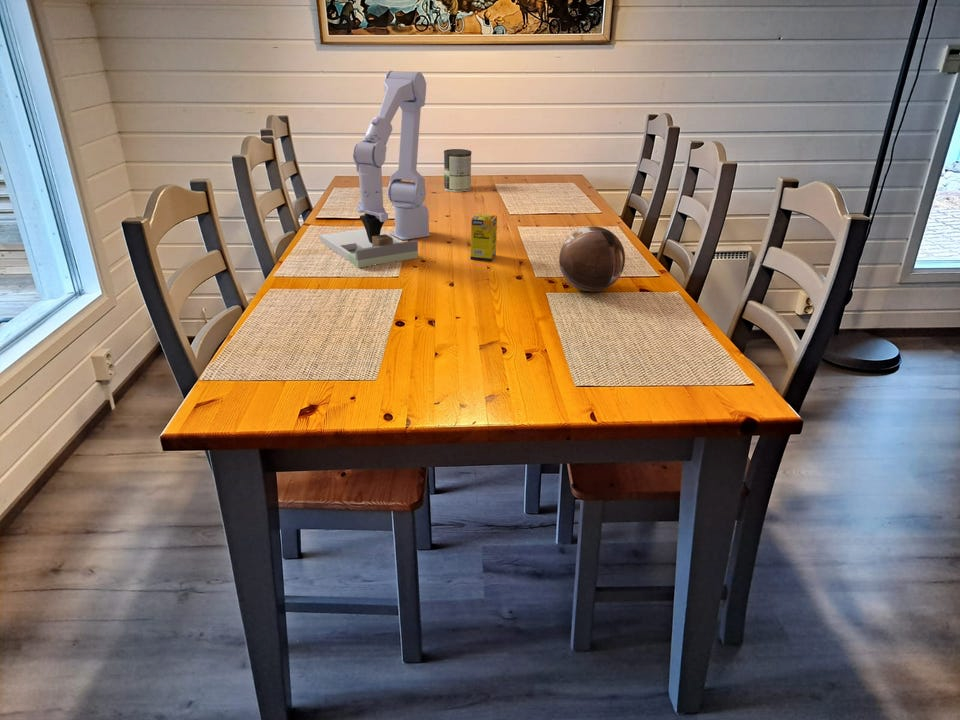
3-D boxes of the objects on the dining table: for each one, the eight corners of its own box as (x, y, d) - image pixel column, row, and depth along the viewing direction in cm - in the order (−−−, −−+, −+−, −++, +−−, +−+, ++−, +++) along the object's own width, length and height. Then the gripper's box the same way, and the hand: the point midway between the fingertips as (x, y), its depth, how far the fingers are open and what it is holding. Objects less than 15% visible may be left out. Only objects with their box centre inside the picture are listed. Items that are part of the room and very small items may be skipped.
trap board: (375, 234, 193) (374, 218, 191) (417, 257, 173) (417, 241, 171) (320, 242, 184) (318, 226, 182) (358, 268, 165) (357, 250, 163)
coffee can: (438, 189, 249) (438, 151, 242) (455, 185, 256) (455, 148, 250) (459, 193, 244) (460, 154, 237) (476, 189, 251) (477, 151, 245)
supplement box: (492, 261, 172) (493, 220, 167) (470, 259, 173) (470, 218, 168) (496, 255, 177) (497, 215, 173) (474, 253, 178) (475, 213, 174)
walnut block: (386, 249, 173) (385, 234, 171) (393, 253, 170) (392, 238, 168) (372, 251, 171) (371, 236, 169) (379, 255, 168) (378, 240, 166)
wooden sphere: (545, 283, 158) (550, 222, 152) (598, 276, 164) (605, 216, 157) (577, 305, 146) (584, 239, 139) (633, 296, 152) (642, 233, 145)
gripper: (345, 186, 172) (348, 237, 178) (369, 198, 161) (371, 251, 167) (369, 184, 175) (372, 234, 181) (394, 195, 164) (396, 247, 171)
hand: (373, 242), depth 174 cm, fingers closed
